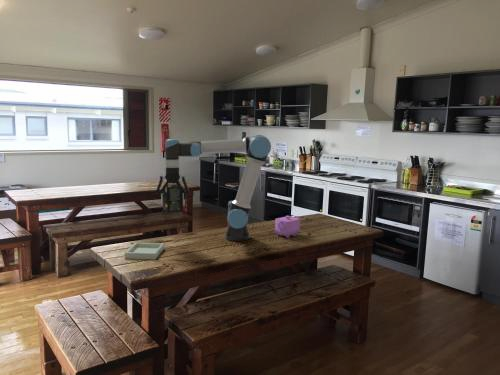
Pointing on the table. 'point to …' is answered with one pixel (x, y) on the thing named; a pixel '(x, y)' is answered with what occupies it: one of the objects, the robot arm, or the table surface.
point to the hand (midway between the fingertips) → (173, 204)
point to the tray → (144, 250)
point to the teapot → (287, 226)
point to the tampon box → (173, 198)
